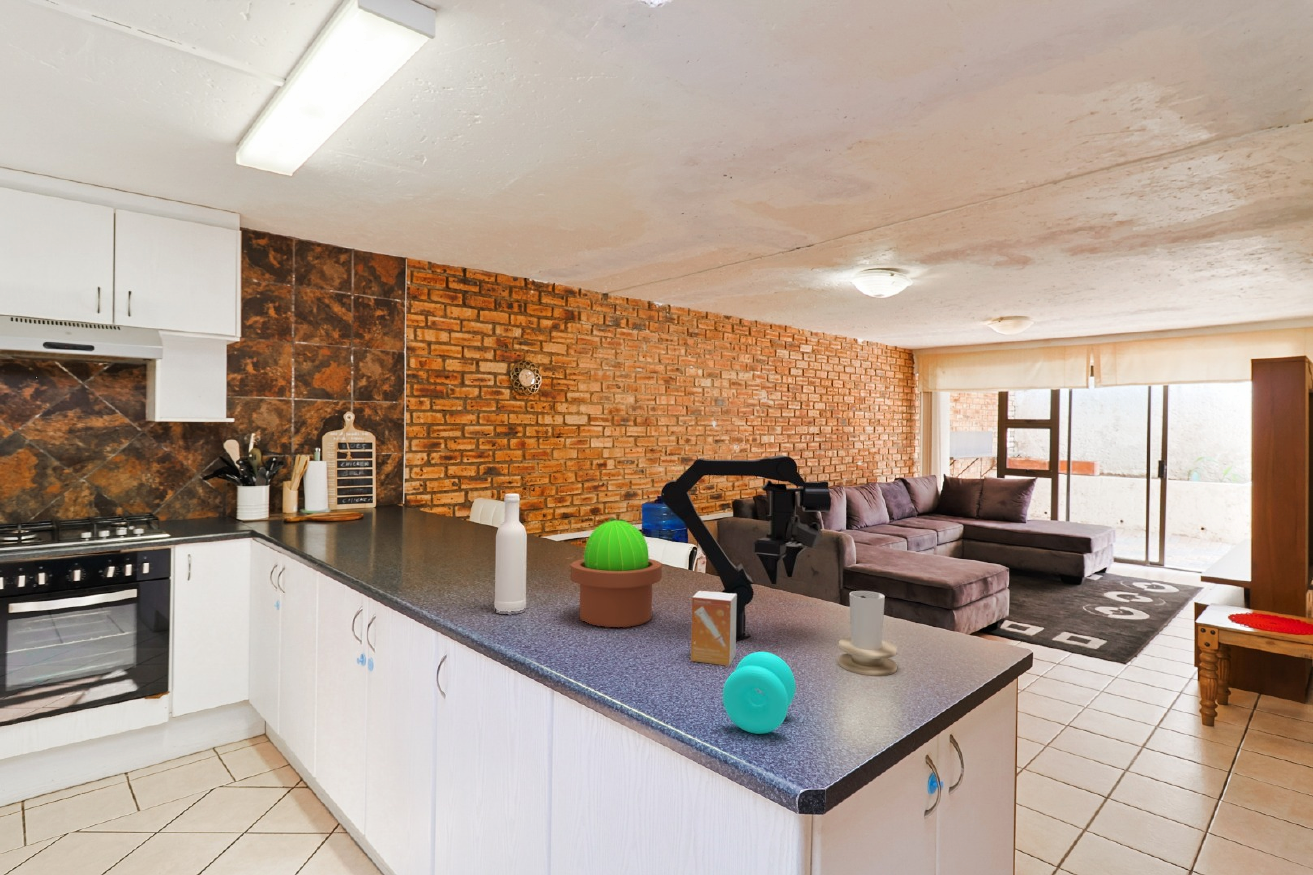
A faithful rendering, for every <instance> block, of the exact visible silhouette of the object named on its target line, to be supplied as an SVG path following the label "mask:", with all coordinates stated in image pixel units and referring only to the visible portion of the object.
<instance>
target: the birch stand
mask: <svg viewBox="0 0 1313 875" xmlns="http://www.w3.org/2000/svg"><path fill="white" fill-rule="evenodd" d="M838 649H839V650H840V651H841V652H844V653H843V654H841V655H839V656H838V665H839V666H840V667H841V668H842V669H844V670H847V671H849V672H851V673H855V674H857V675H858V674H859V675H865V676H876V677H877V676H879V677H880V676H881V677H882V676H888V675H889V676H890V675H893V674H894V673H897V671H898V663H897V662H896V661H894V660H893V659H892V658H894V657H896V656H897V655H898V647H897V646H896V644H893V643H892V642H890V641H887V640H883V639H882V647H881V648H880V649H877V650H866V649H860V648H856V647H854V646H852V644H851V636H849V637H845V638H842V639H840V640H839V641H838Z"/></svg>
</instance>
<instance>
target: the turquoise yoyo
mask: <svg viewBox="0 0 1313 875" xmlns="http://www.w3.org/2000/svg"><path fill="white" fill-rule="evenodd" d="M796 688H797V686H796V679H795V676H794V674H793V671H792V669H791V667H790V666H789V665H788V663H787V662H786V661H785V660H783V659H782V658H781V657H779V655H776V654H775V653H771V652H767V651H757V652H756V651H755V652H752V653H749V654H747V655H746V656H744V657H743V658H742V659H741V660H740V661H739V663H738V664H737V666H736V668H735V670H734V671H733V672H732V673H731V674H730V675H729V676H728V677H727V679H726V680H725V682H724V685H723V689H722V703H723V706H724V707H723V708H724V709H725V712H726V714H727V716H728V717H729V719H730V720H731V721H732V722H733V723H734V725H735V726H737V727H738V728H740V729H741V730H743V731H745V732H748V733H751V734H756V735H757V734H758V735H761V734H762V735H763V734H768V733H771V732H773V731H774V730H776V729H777V728H779V727H780V726H781V725H782V723H783V722H784V721H785V719H786V717H787V714H788V711H789V707H790V705H791V704H792V702H793V701H794V698H795V695H796Z"/></svg>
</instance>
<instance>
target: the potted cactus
mask: <svg viewBox="0 0 1313 875" xmlns="http://www.w3.org/2000/svg"><path fill="white" fill-rule="evenodd" d="M591 532H592V533H591V534H590V535H589V536H588V539H587V538H586V540H587V542H586V545H585V547H584V551H583V550H582V553H584V555H582V558H581V559H578V560H575V561H573V562H572V563H570V580H571V582H574V583H575V584H577V585H578V584H579V618H580V620H581V621H582V622H583V621H585V622H587V623H586V624H588V623H589V624H588V625H591V624H593V626H595V625H599V626H598V627H600V626H606V627H605V628H610V627H618V628H617V629H619V627H623V628H630V627H631V626H632V627H636V626H641V625H643V624H646V623H647V622H649V621H650V620H651V618H652V611H653V605H652V604H653V599H652V598H653V585H655V584H657V583H659V582H660V581H662V578H663V573H662V571H663V570H662V568H663V565H662V562H661V561H658V560H656V559H651V558H650V557H652V555H651V556H650V555H649V546H648V544H649V542H647V540H646V538H645V536H644V534H643V533H642V532H641V531H640V530H639V528H638V527H637V526H635V525H634V524H631V523H629V522H628V521H627V519H626V520H625V519H623V518H619V520H618V518H609V519H608V521H605V522H603V523H599V525H598V526H595V527H594V530H593V531H591ZM585 622H584V623H585Z"/></svg>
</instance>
